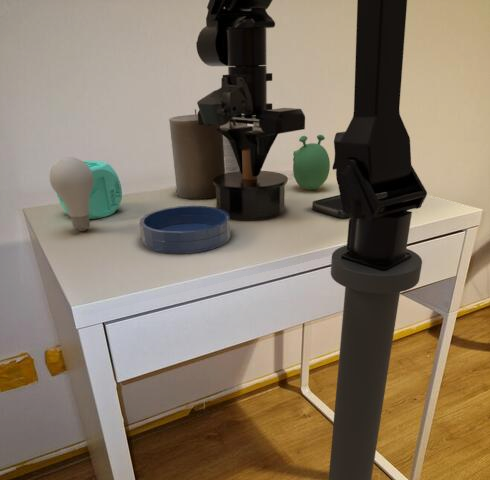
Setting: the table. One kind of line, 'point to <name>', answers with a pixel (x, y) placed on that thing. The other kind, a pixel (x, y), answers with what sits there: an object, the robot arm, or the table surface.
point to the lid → (249, 178)
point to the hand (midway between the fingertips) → (249, 174)
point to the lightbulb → (73, 188)
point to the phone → (334, 205)
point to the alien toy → (311, 164)
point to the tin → (251, 203)
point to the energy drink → (229, 157)
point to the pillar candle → (196, 156)
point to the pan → (185, 229)
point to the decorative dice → (102, 190)
